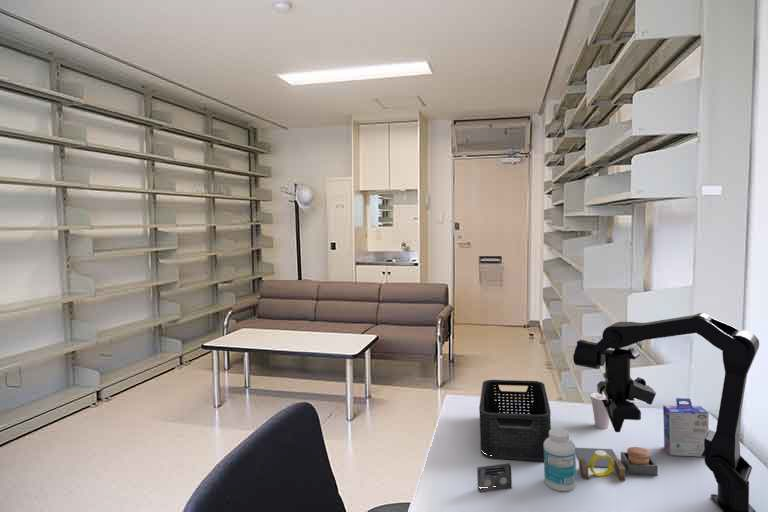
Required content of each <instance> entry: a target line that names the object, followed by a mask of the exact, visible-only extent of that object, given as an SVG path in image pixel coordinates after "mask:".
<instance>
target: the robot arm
mask: <svg viewBox="0 0 768 512" xmlns="http://www.w3.org/2000/svg"><path fill="white" fill-rule="evenodd" d="M689 334H698V335H699V336H700V337H702V338H703V339H705V340H706V341H707V342H708V343H710V344H711V345H712V346H714V347H715V348H716V349H719V350H721V351H722V352H721V353H722V363H723V367H724V379H723V385H722V386H723V387H722V390H721V391H722V392H721V397H720V404H719V405H720V406H719V409H718V410H719V411H718V417H717V423H716V429H715V431H713V430H710V429H709V432H708V434H707V436H706V437H705V439H704V451H703V453H702V455H701V456H705V457H704V464H705V466H706V467H708V470H710V472H712V474H713V477H714V479H715V481H716V483H717V494H716V493H715V494H713V493H712V494H710V498H711V499H712V500H713V501H714V502H715V504H716V505H717V506H718V507H719V508H720V510H721V511H722V512H757V511H756V510H755V508H754V507H753V506H752V505H751V504H750V481H749V479H750V478H749V477H750V475H751V473H752V469H753V467H752V466H751V465H750V464H749V463H748V461H747V460H746V459H745V458H744V457H742V455H741V445H740V442H741V441H740V438H739V432H738V431H739V427H740V420H741V413H742V409H743V408H742V407H743V403H744V402H743V401H744V397H745V396H744V395H745V389H746V384H747V378H748V373H749V371H750V368H751V367H752V365H753V362H754V360H755V357H756V355H757V352H758V351H759V348H760V341H759V338H758V337H757V336H756V335H755V334H754V333H753V332H751V331H749V330H746V329H738V328H736V327H735V326H733V325H730V324H728V323H726V322H723V321H721V320H718V319H716V318H714V317H713V316H711V315H708V314H707V313H704V312H698V313H695V314H693V315H692V314H691V315H687V316H685V315H684V316H680V317H673V318H668V319H667V318H666V319H660V320H655V321H647V322H637V321H636V322H635V321H617V322H614V323H612V324H611V325H609V326H607V327H605V328H604V330H603V331H602V338H601V339H600V340H599V341H598V342H593V341H587V340H585V339H579V340H578V341H577V342H576V346H575V349H574V353H573V356H572V359H573V364H574V365H575V366H579V367H585V368H589V369H595V370H599V369H600V368H601V367H603V366H604V367H605V368H604V369H605V370H604V371H605V372H603V374H602V375H603V376H602V377H603V378H604V381H603V380H601V381H599V382H598V383H597V385H596V390H597V392H598V393H599V394H602V391H603V392H604V395H605V396H606V400H602V402H603V404H604V406H605V409H606V411H607V413H608V416H609V422H610V423H611V425H612V428H613V431H614V432H615V433H621V430H622V428H623V424H624V421H625V420H629V421H630V420H631V421H641V419H642V411H641V410H640V408H639V407H638V405H636V404H635V403H634V401H635V399H636V400H639V401H642V402H643V403H644V402H645V403H646V404H647V405H650V406H651V405H652V404H653V402H654V400H655V397H656V395H657V392H656V391H655V390H654V389H653V388H652V387H651V386H650V385H647V382H646V380H645V378H641V377H636V379H632V378H631V360H636V359H638V358H639V357H640V353H639V352H638V351H636V350H635V349H634V347H633V346H632V345H634V344H637V343H639V342H643V341H647V340H654V339H661V338H671V337H676V336H685V335H689ZM629 346H630V347H629ZM626 347H629V348H628V349H625V348H626ZM701 456H700V457H701Z"/></svg>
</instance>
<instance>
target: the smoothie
mask: <svg viewBox="0 0 768 512" xmlns="http://www.w3.org/2000/svg"><path fill="white" fill-rule="evenodd" d="M589 396H590V397H589V399H590V400H591V404H592V405H591V406H592V411H593V412H592V413H593V420H594V425H595V428H597V429H602V430H606V429H608V428H609V425H610V418H609V416H608V413H607V411H606V409H605V406H604V404H603V402H602V400H606V396H605V395H604V392H603V391H602V394H599V393H598V391H597V392H592V393H591V394H590V395H589Z"/></svg>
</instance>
